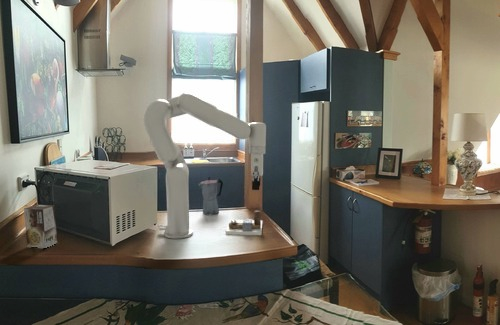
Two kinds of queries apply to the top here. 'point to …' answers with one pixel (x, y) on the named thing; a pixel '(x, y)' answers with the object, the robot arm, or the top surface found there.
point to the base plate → (239, 231)
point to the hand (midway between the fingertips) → (256, 187)
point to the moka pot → (210, 195)
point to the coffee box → (40, 226)
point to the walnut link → (254, 225)
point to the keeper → (245, 224)
